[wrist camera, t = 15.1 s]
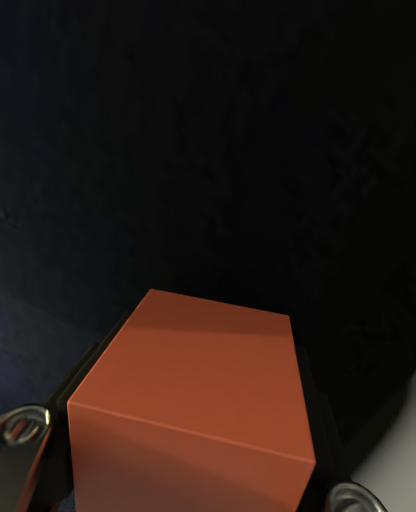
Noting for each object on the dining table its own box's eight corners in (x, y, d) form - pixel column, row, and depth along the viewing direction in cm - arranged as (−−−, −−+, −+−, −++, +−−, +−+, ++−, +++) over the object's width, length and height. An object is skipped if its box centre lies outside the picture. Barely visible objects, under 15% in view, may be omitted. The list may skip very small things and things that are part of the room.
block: (150, 287, 10) (65, 402, 6) (289, 314, 10) (317, 463, 5) (144, 389, 12) (77, 536, 7) (260, 416, 11) (263, 591, 7)
